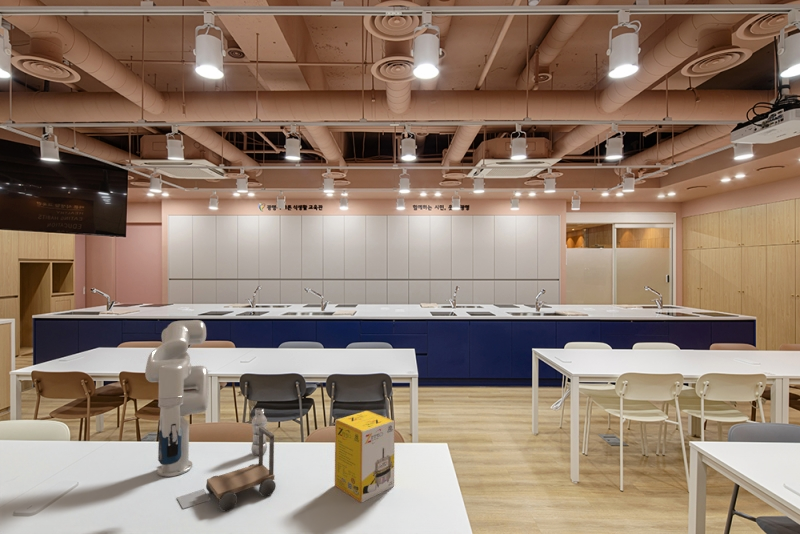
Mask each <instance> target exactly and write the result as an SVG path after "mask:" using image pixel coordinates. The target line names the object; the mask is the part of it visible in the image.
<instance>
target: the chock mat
mask: <svg viewBox="0 0 800 534" xmlns="http://www.w3.org/2000/svg"><path fill="white" fill-rule="evenodd" d="M176 499H177V500H176V501H178V503H179V505H180V507H181V509H182V510H185V509H188V508H190V507H191V508H192V507H194V506H198V505H199V504H200V505H201V504H202V503H205V501H206V502H208V500H209V501H211V500H212V499H211V497H210V496H209V494H208V493H207V491H206V490H205V489H204V488H202V489H199V490H196V491H194V492H190V493H186V494H184V495H180V496H177V497H176Z"/></svg>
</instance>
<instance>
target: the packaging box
mask: <svg viewBox="0 0 800 534" xmlns="http://www.w3.org/2000/svg"><path fill="white" fill-rule="evenodd" d="M334 421H335V424H334V426H335V427H334V436H335V437H334V486H335V488H336V487H337V488H338V489H340V490H341V491H343V492H344V493H346V494H347V495H349V496H351V498H354V499H355V500H356V501H358V502H360V503H363V502H365V501H367V500H369V499H372V498H374V497H375V496H378V495H379V494H381V493H384V492H386V491H387V490H390V489H391V488H394V486H395V433H396V432H395V431H396V430H395V426H396V425H395V424H396V423H395V420H393V419H391V418H389V417H386V416H384V415H380V414H378V413H375V412H372V411H370V410H364V411H361V412H358V413H354V414H352V415H351V414H350V415H348V416H344V417H342V418H341V417H340V418H337V419H335V420H334Z"/></svg>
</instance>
